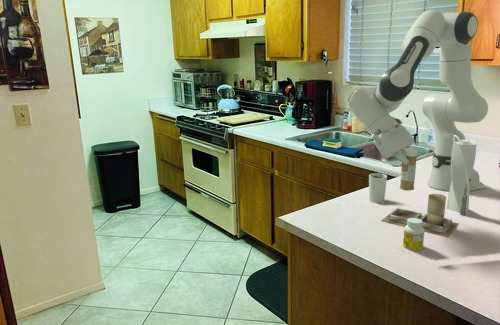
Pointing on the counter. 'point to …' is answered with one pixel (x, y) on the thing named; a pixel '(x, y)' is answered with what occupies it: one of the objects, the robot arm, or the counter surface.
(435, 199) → the birch pin
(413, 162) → the sprinkles bottle
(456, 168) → the skyscraper
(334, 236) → the counter surface
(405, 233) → the supplement bottle
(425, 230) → the brown holder tray
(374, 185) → the white and black cylinder
